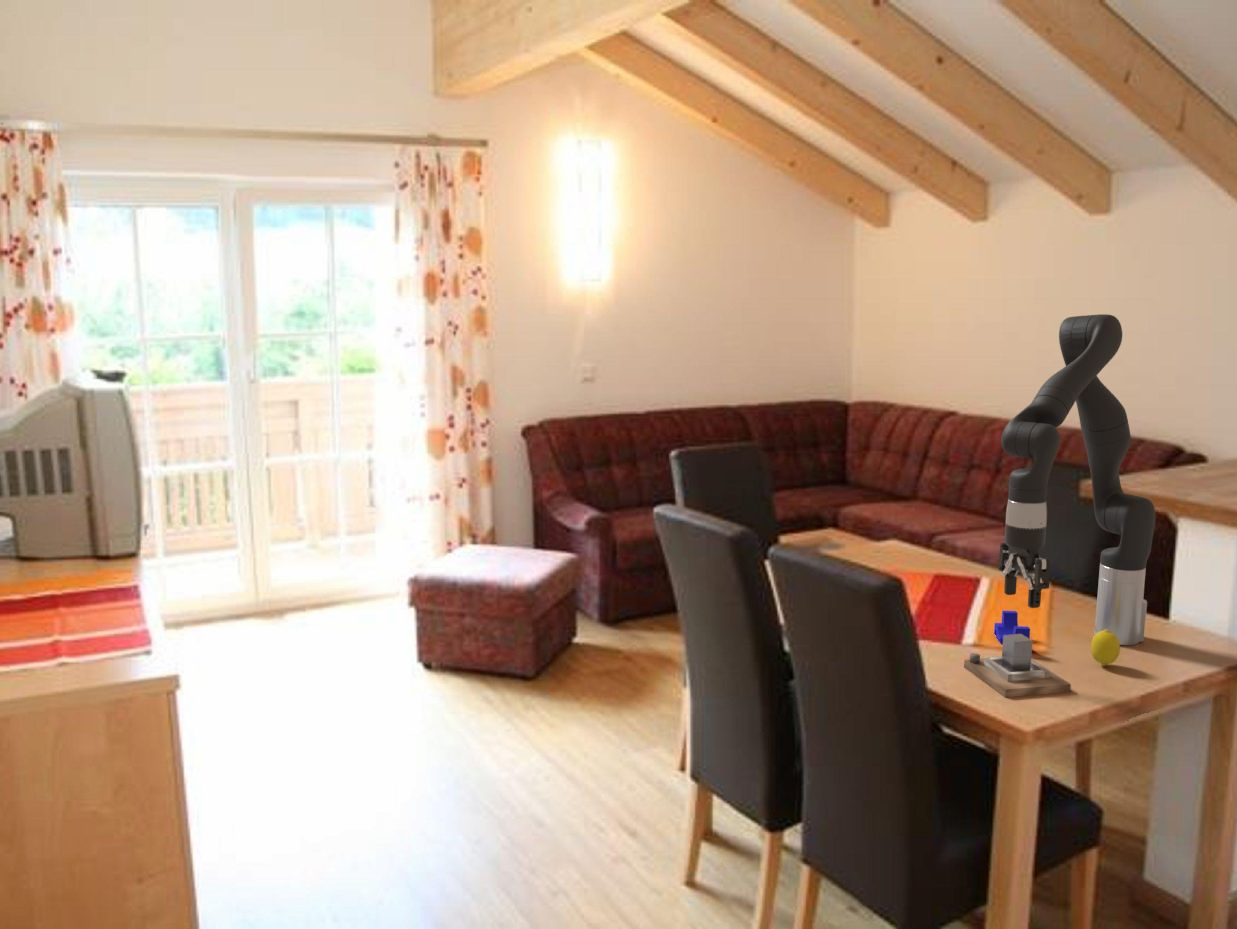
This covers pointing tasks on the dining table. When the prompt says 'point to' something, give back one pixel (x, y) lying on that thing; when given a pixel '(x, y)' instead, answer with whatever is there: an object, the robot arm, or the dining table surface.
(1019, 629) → the cable clip
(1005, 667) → the hinge block
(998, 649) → the dining table surface
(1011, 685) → the door panel
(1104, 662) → the lemon
